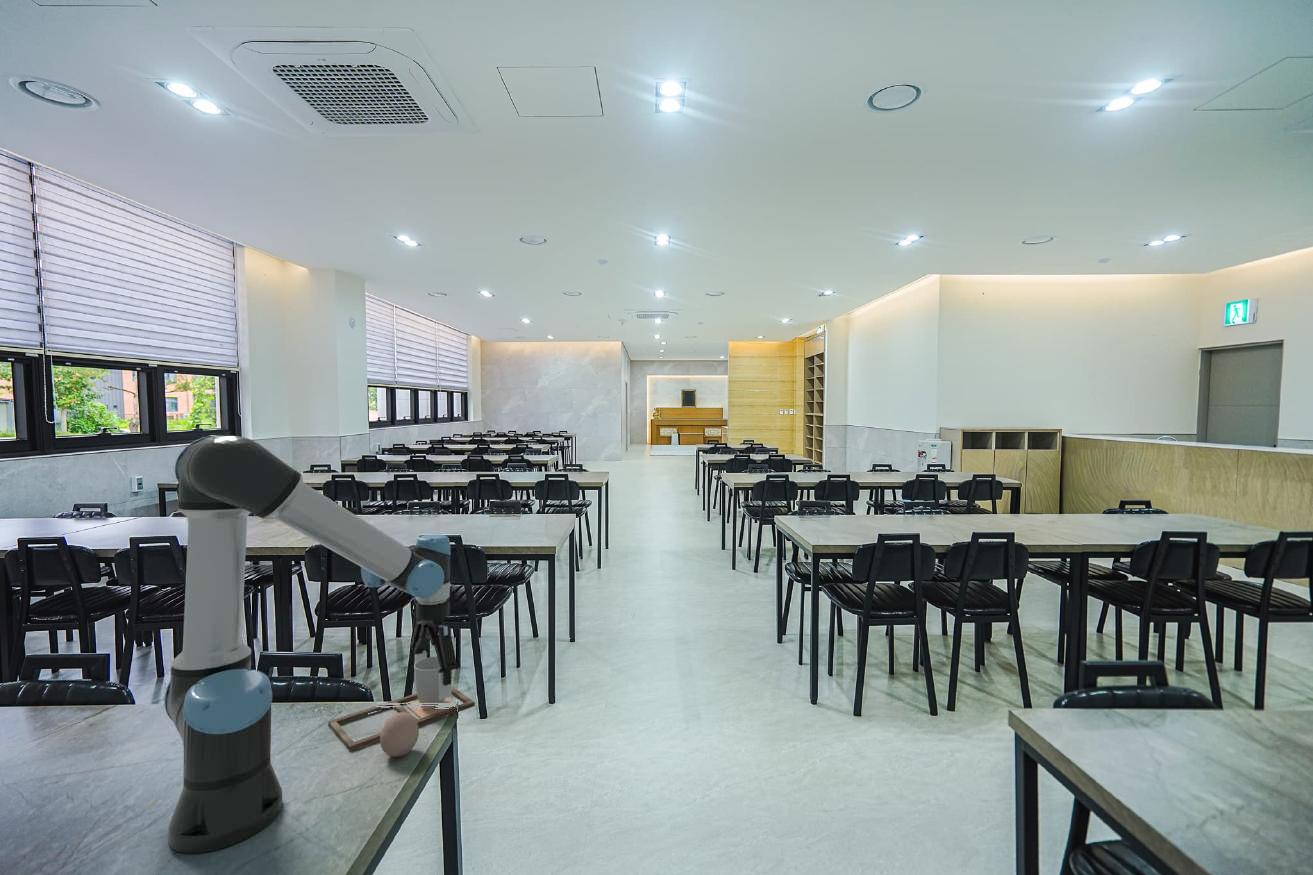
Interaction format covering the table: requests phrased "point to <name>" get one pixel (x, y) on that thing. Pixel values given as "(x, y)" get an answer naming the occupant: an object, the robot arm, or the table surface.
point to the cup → (427, 682)
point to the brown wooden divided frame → (369, 740)
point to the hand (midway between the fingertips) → (432, 688)
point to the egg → (399, 734)
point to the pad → (423, 712)
